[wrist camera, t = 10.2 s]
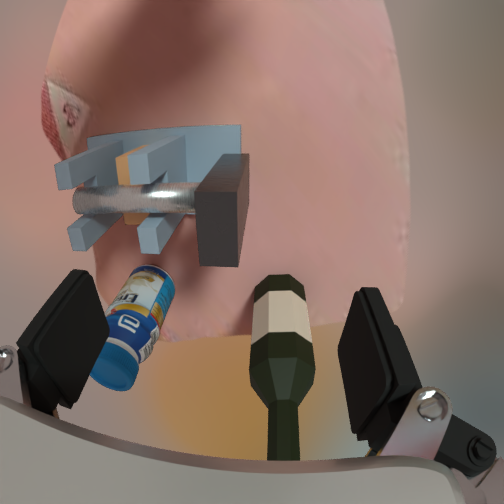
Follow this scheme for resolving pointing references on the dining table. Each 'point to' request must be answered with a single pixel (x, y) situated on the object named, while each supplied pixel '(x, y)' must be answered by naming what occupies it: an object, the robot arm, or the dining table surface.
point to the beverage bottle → (133, 326)
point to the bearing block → (144, 173)
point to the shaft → (187, 206)
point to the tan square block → (125, 179)
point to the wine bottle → (281, 360)
